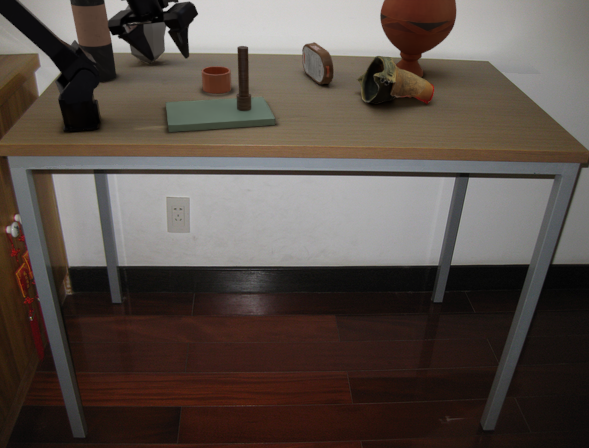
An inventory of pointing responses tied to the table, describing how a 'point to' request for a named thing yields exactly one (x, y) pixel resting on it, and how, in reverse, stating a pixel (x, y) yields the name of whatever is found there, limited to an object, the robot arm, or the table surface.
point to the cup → (216, 79)
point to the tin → (317, 63)
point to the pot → (392, 83)
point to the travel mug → (95, 35)
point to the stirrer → (243, 80)
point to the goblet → (416, 27)
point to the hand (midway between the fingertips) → (169, 58)
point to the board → (216, 114)
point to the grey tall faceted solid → (152, 40)
